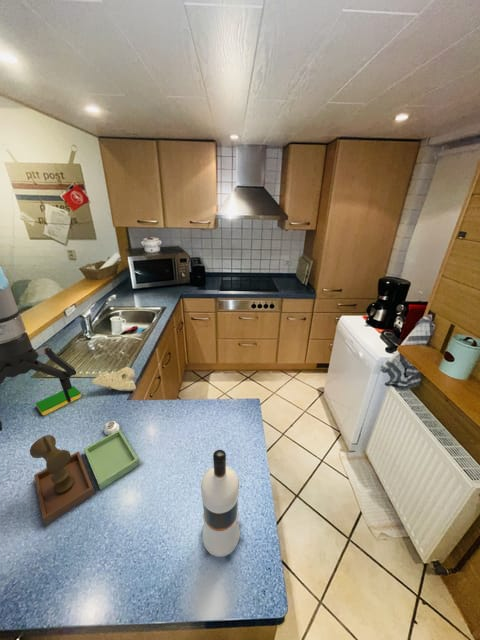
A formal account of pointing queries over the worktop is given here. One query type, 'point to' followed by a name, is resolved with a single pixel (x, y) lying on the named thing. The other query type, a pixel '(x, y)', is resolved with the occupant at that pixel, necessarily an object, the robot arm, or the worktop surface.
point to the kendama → (54, 462)
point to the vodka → (220, 507)
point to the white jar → (111, 427)
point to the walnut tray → (63, 502)
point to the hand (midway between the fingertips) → (36, 412)
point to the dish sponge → (57, 401)
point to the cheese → (117, 380)
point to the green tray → (111, 458)
